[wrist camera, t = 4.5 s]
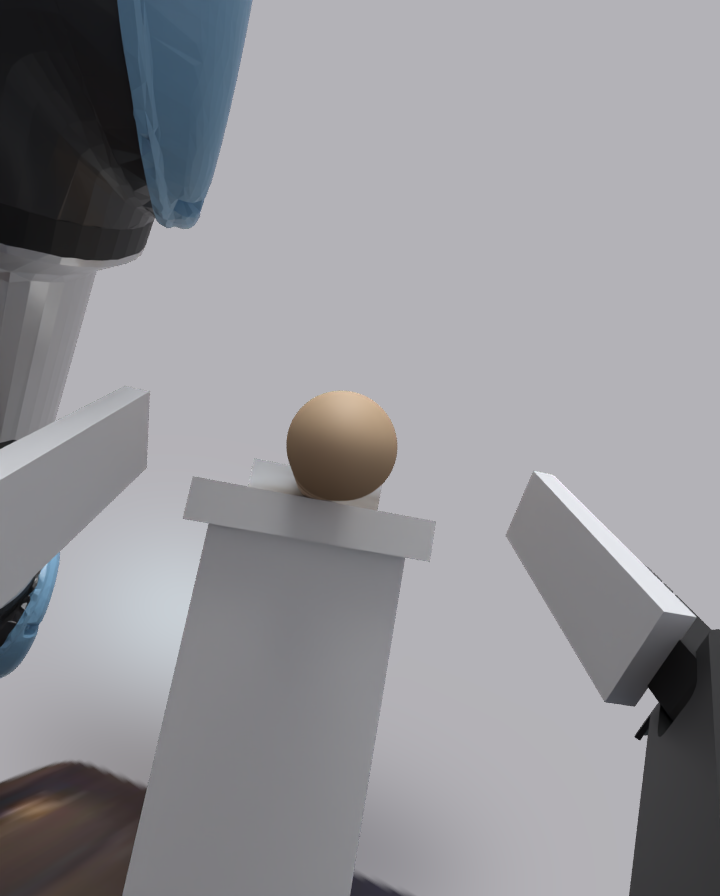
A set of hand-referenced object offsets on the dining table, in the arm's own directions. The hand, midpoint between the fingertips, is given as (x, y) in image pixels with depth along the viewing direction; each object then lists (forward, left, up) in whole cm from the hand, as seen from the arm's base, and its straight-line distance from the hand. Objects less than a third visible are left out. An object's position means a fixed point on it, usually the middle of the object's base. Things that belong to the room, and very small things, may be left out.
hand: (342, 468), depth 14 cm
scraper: (-7, +4, -1) cm, 9 cm away
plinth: (-12, +6, -31) cm, 34 cm away
